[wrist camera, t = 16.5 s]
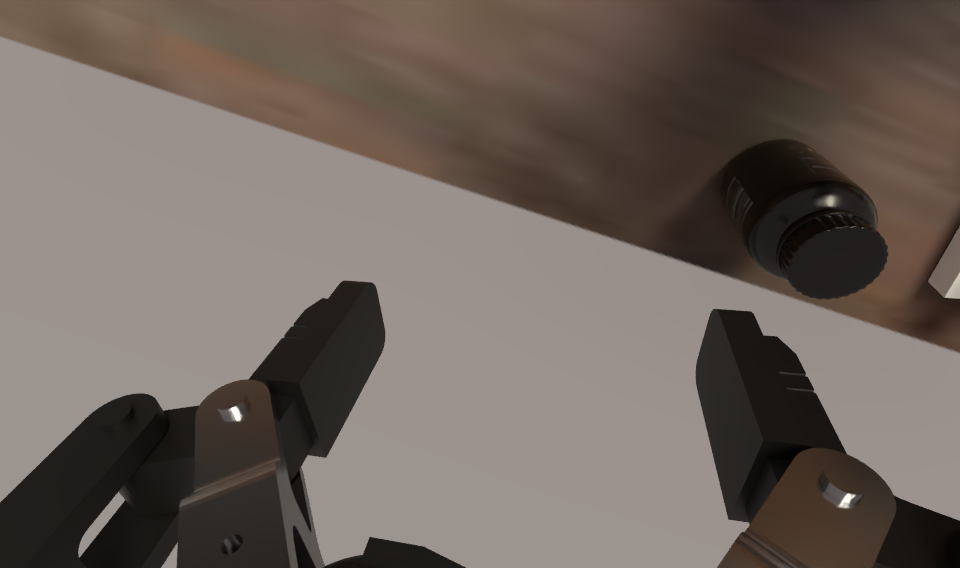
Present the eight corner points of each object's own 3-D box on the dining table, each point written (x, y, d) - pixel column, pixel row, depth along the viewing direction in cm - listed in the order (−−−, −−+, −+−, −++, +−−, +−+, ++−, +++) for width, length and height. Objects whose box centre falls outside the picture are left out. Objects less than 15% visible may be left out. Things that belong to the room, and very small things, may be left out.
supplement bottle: (770, 237, 38) (831, 333, 28) (699, 196, 37) (736, 281, 28) (846, 165, 34) (945, 248, 24) (767, 117, 33) (838, 184, 24)
